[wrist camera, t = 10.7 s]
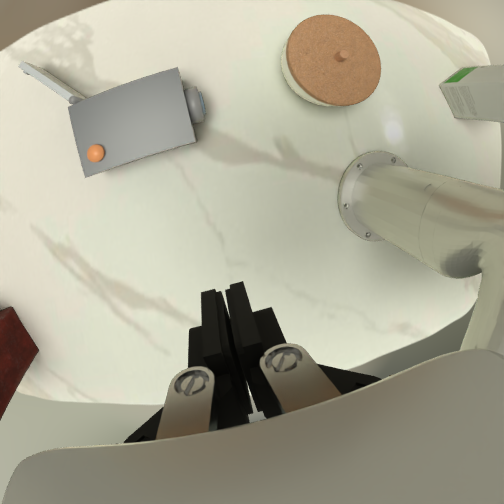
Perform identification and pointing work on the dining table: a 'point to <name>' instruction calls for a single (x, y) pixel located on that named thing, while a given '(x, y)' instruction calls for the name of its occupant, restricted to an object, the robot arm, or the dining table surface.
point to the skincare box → (476, 93)
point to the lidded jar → (330, 61)
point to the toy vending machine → (13, 355)
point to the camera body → (135, 121)
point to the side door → (52, 82)
